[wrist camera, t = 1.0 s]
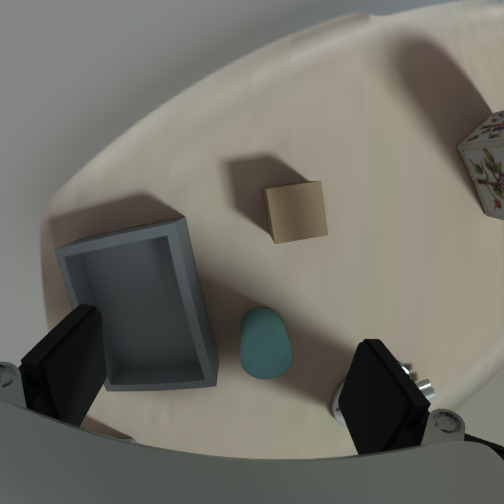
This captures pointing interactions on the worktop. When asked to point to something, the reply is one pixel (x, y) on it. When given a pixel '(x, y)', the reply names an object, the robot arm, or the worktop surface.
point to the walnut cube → (295, 211)
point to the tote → (145, 306)
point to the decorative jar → (487, 163)
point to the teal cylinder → (264, 344)
